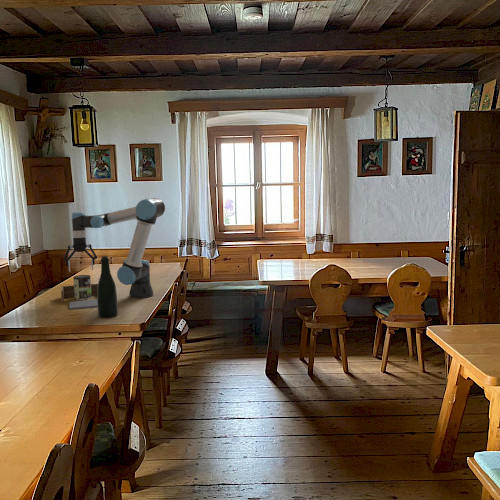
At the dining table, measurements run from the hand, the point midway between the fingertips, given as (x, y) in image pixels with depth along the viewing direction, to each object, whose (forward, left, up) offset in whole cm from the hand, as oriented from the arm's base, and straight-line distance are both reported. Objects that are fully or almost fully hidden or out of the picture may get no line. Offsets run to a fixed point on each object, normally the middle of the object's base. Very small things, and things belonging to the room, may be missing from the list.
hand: (81, 270), depth 318 cm
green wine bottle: (-42, +31, -18) cm, 55 cm away
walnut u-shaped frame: (0, 0, -18) cm, 18 cm away
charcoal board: (-13, +15, -18) cm, 27 cm away
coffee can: (0, 0, -18) cm, 18 cm away
